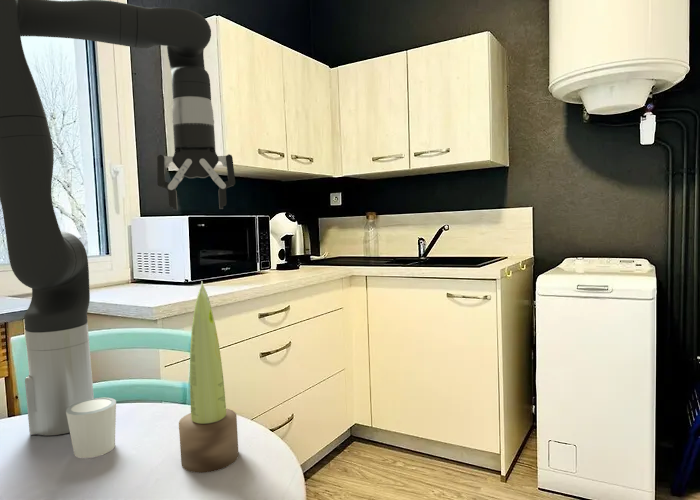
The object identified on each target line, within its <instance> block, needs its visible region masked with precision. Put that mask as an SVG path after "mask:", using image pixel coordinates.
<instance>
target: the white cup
mask: <svg viewBox="0 0 700 500" xmlns="http://www.w3.org/2000/svg"><path fill="white" fill-rule="evenodd" d="M66 415H67V420H68V425H69V430H70V432H69V435H70V438H71V439H70V441H71V445H72V451H73V455H74V456H75V457H76V458H77V459H92V458H97V457H100V456H103V455H106V454H108V453H110V452H111V451H113V449H115V447H116V425H117V424H116V422H117V421H116V419H117V418H116V417H117V400H116V399H114V398H112V397H108V396H107V397H96V398H95V397H94V399H88V400H84V401H81V402H78V403H75V404H73V405H71V406H70V407H68V408H67V410H66Z"/></svg>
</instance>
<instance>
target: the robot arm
mask: <svg viewBox="0 0 700 500" xmlns="http://www.w3.org/2000/svg"><path fill="white" fill-rule="evenodd" d="M22 37H38V38H39V37H40V38H41V37H42V38H43V37H44V38H45V37H46V38H61V39H73V40H74V39H75V40H83V41H91V42H99V43H104V44H105V43H106V44H112V45H116V46H117V45H118V46H124V47H130V48H131V47H132V48H137V49H149V48H150V49H151V48H153V47H155V46H164V47H166V50H167V51H166V52H167V57H168V62H169V68H170V71H171V72H170V73H171V90H172V91H171V93H172V108H171V109H172V110H171V112H172V113H171V114H172V115H171V116H172V129H173V130H172V131H173V144H174V145H173V146H174V147H173V149H174V152H173V155H172V156H169V155H168V156H167V155H163V154H159V155H157V158H156V161H157V162H156V163H157V164H156V166H157V167H156V169H157V170H156V173H157V186H158V187H160V188H163V189H166V190H167V194H168V205H169V207H170V208H172V209H173V211H178V207H179V206H178V197H177V196H178V194H177V193H178V192H177V190H176V188H177V187H178V185H179V184H180V183H181V182H182V181H183V179H184V178H188V179H196V178H200V179H206V178H208V177H210V178H211V179H212V181H213V182H214V183H215V185H217V186H218V188H219V189H218V205H219V206H218V207H219V210H223V209H224V207H225V206H227V202H228V201H227V189H228V188H230V187H234V186H235V185H236V176H235V168H234V160H233V156H232V154H229V153H228V154H227V155H218V153H217V151H216V137H215V136H216V135H215V117H214V110H213V105H212V103H213V102H212V92H211V90H212V89H211V80H210V74H209V72H208V71H207V70H206V67H205V59H204V56H205V55H204V50H205V48H206V47H207V46H208V45H209V43H210V41H211V38H212V28H211V26H210V24H209V22H208V21H207V19H206V18H205V17H204V16H203V15H201V14H200V13H199V12H196V11H194V10H191V9H186V8H181V7H180V8H179V7H177V8H176V7H144V6H139V5H135V4H130V3H125V2H119V1H115V0H0V205H1V209H2V216H3V222H4V230H5V239H6V246H7V254H8V260H9V265H10V267H11V270H12V273H13V275H14V276H15V277H16V279H17V280H18V281H19V282H20V283H21V284H23V285H24V286H25V287H28V288H30V289H31V300H30V303H29V306H28V307H27V309H26V311H25V313H24V316H23V317H24V318H23V321H24V322H23V323H24V330H25V331H24V334H25V335H24V336H25V342H26V343H25V345H26V355H27V367H28V375H27V376H26V377H25V378H24V385H25V387H24V388H25V397H26V407H27V408H26V409H27V420H28V429H29V436H30V435H32V436H33V435H40V436H57V435H65V434H68V433H69V434H70V430H69V425H68V420H67V415H66V410H67V408H68V407H70V406H71V405H73V404H75V403H78V402H81V401H84V400H88V399H94V398H95V397H94V385H93V373H92V361H91V360H92V359H91V349H90V348H91V347H90V336H89V335H90V334H89V325H88V324H89V323H88V310H89V308H90V302H91V301H90V299H91V297H90V295H91V294H90V293H91V292H90V271H89V269H90V267H89V258H88V253H87V250H86V247H85V245H84V244H83V242H82V241H81V240H80V239H79V238H78V237H77V236H76V235H75V234H72V233H70V232H67V231H63V230H61V228H60V226H59V222H58V219H57V216H56V211H55V209H54V204H53V197H52V183H53V172H54V162H55V161H54V156H55V155H54V154H55V152H54V146H53V145H54V143H53V139H52V135H51V134H52V133H51V131H50V126H49V123H48V119H47V114H46V110H45V108H44V105H43V101H42V100H41V96H40V94H39V93H40V92H39V90H38V87H37V85H36V82H35V79H34V77H33V74H32V71H31V69H30V66H29V65H28V61H27V59H26V55H25V51H24V48H23V44H22ZM219 162H220V163H221V165H222V166H223V167H225V168H226V172H227V173H226V174H227V180H226V181H223V179H222V178H221V176H219V174H218V173H217V172H216V171H215V168H216V166H217V165H218V163H219ZM171 163H173V164H174V166H176V168H177V169H178V170H177V171H176V173H175V175H174V176H173V177H172V180H171V181H170V182H168V181H166V168H167V169H168V168H169V166H170V164H171Z"/></svg>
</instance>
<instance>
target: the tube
mask: <svg viewBox="0 0 700 500" xmlns="http://www.w3.org/2000/svg"><path fill="white" fill-rule="evenodd" d="M189 354H190V355H189V387H190V388H189V389H190V390H189V392H190V393H189V394H190V413H191V419H192V421H193V422H195V423H200V424H208V423H214V422H218V421H220V420H221V419H223V418H224V417H225V416H226V409H227V405H226V404H227V403H226V391H225V390H226V389H225V383H224V373H223V365H222V363H223V362H222V357H221V350H220V343H219V337H218V332H217V327H216V322H215V317H214V314H213V309H212V305H211V301H210V298H209V296H208V292H207V291H206V288H205V286H204V282H203V280H201V283H200V288H199V291H198V294H197V296H196V301H195V304H194V310H193V318H192V324H191V333H190V350H189Z"/></svg>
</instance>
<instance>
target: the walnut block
mask: <svg viewBox="0 0 700 500" xmlns="http://www.w3.org/2000/svg"><path fill="white" fill-rule="evenodd" d="M237 418H238V417H237V413H236V412H235V411H234V410H232V409H231V408H226V416H225V417H224V418H223V419H221V420H220V421H218V422H214V423H208V424H200V423H195V422H193V421H192V419H191V412H190V413H188V414H186V415H184V416H182V417H181V418H180V419H179V422H178V428H179V429H178V431H179V434H178V436H179V449H180V460H181V461H180V462H181V463H180V464H181V467H182V468H183V469H184V470H185V471H188V472H192V473H197V474H200V473H201V474H204V473H212V472H216V471H220V470H223V469H226V468H229V466H231V465H233V464H234V463H235V462H236V461H237V460H238V458H239V454H240V452H239V439H238V438H239V437H238V436H239V435H238V434H239V433H238V420H237Z"/></svg>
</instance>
